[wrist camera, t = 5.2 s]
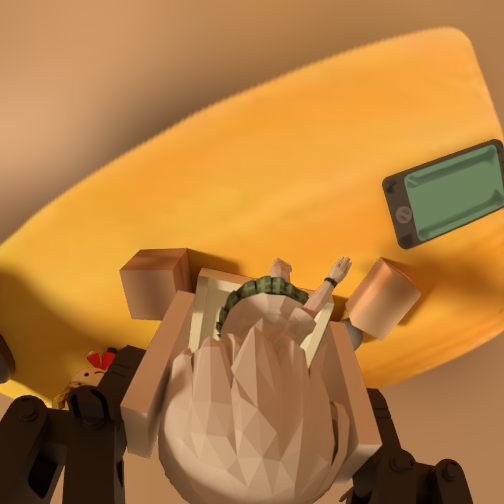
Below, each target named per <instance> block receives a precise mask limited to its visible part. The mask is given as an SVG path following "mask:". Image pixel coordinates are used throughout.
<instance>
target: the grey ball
mask: <svg viewBox="0 0 504 504" xmlns="http://www.w3.org/2000/svg"><path fill="white" fill-rule="evenodd" d="M339 322H340V323H345V325H346V328H347V331H348V334H349V337H350V340H351V343H352V346H353V349H354V351H355V350H356V349H357V348H358V347H359V346H360V345H361V342H362V339H363V333H362V330H360V329H359V328H357V327H355V326H353V325H352V323H351V320H341V321H339Z"/></svg>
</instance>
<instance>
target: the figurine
mask: <svg viewBox="0 0 504 504" xmlns="http://www.w3.org/2000/svg"><path fill="white" fill-rule="evenodd" d="M343 258H344V257H341V258H340V259H339V260H338V261H337V262H336V263H335V265H334V266H333V267H332V269H331V270H330V272H329V274H328V277H327V278H325V280H324V283H323V284H322V285H321V286H320V287H319V288H318V289H317V290H316V291H315V292H314V293H313V294H312V295H311V296H310V297H308V296H309V294H308V293H306V292H305V291H302V290H300V289H298V288H296V287H295V286H294V285H292V284H291V283H290V274H289V273H290V272H291V271H292V269H291V265H289V264H287V263H286V262H284V261H282V260H281V259H279V258H277V259H274V262H273V265H272V267H271V269H270V271H269V276H264V277H261V278H259V279H257V280H255V281H254V279H253V280H250V281H247V282H245V283H244V284H243V285H242V286H241V287H240V288H239V289H238V290H237V291H235V290H233V291H232V292H231V293H230V294H229V295H228V298H227V301H226V304H225V307H221V310H220V313H219V322H217V321H216V327H215V329H216V330H217V331H218V332H219V334H217V336H218V337H219V339H220V340H218V341H217V340H216V339H214V338H212V337H208V338H206V339H204V341H203V344H202V346H201V348H200V349H197V350H195V351H194V352H193V353H192V352H191V349H190V348H187V349H184V350H183V351H182V352H181V353H180V354H179V355H178V356H177V357H176V358H175V360H174V361H173V363H172V365H171V370H170V373H169V377H168V380H167V384H166V388H165V392H164V398H163V404H162V411H161V418H160V425H159V432H158V444H159V459H160V462H161V464H162V466H163V468H164V470H165V475H166V476H167V478H168V479H169V481H170V483H171V484H172V485H173V486H174V487H175V489H176V490H177V491H178V492H179V494H180V495H181V497H182V498H183V499H185V500H186V501H187V502H188V503H190V504H313V503H314V502H315V501H317V500H318V499H319V498H321V497H322V496H323V495H324V494H325V493H326V492H327V491H328V490H329V489H330V488H331V486H332V484H333V483H334V481H335V479H336V478H337V476H338V474H339V473H340V471H341V469H342V464H343V461H344V459H345V457H346V455H347V447H348V436H349V423H350V419H349V417H348V415H347V412H346V410H345V408H344V405H342V404H339V403H336V402H333V401H332V402H329V396H328V393H327V391H326V388H325V385H324V383H323V380H322V378H321V377H322V370H323V363H324V356H325V350H326V348H327V346H328V343H329V342H328V343H326V344H325V345H324V346H323V347H322V348H321V350H320V351H319V352H318V354H317V355H316V356H315V357H314V359H313V360H312V361H311V365H310V367H309V369H308V366H307V360H306V354H305V350H304V349H302V348H300V346H301V344H302V343H303V341H304V340H305V338H306V337H307V336H308V335H310V334H311V333H313V331H314V329H315V327H316V324H317V323H316V322H315V320H314V319H315V317H316V316H317V314H318V313H319V312H320V310H321V309H322V308H323V307H324V306H325V304H326V303H327V302H328V300H329V298H330V296H331V293H332V291H333V289H334V288H335V287H336V285H337V284H338V283H339V282H341V281H342V280H343V279H344V277H345V276H346V274H347V272H348V270H349V268H350V266H351V264H352V263H351V262H350V263H349V261H350V259H349V258H348V257H346V258H345V259H344V260H343ZM347 259H348V260H347ZM342 260H343V261H342ZM341 261H342V262H341ZM348 263H349V264H348ZM190 353H191V354H190ZM191 355H192V356H191ZM190 357H191V359H190ZM330 404H331V405H333V406H334V407H336V408H337V409H338V423H337V420H336V419H333V418H332V416H331V409H330Z"/></svg>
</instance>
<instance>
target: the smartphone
mask: <svg viewBox="0 0 504 504" xmlns="http://www.w3.org/2000/svg"><path fill="white" fill-rule="evenodd" d="M382 187H383V190H384V194H385V197H386V200H387V204H388V207H389V211H390V214H391V218H392V221H393V225H394V229H395V233H396V237H397V241H398V244H399V245H400V247H401V248H403V249H409V248H411V247H414V246H416V245H418V244H421V243H423V242H426V241H428V240H430V239H433V238H435V237H438V236H440V235H442V234H445V233H447V232H449V231H452V230H454V229H456V228H459V227H461V226H464V225H466V224H468V223H471V222H473V221H475V220H476V219H479V218H482V217H484V216H486V215H488V214H490V213H493V212H495V211H497V210H499V209H500V208H503V207H504V148H503V144H502V142H501V141H500V140H497V139H492V140H490V141H487V142H484V143H481V144H478V145H475V146H472V147H469V148H466V149H464V150H461V151H458V152H455V153H452V154H449V155H447V156H444V157H441V158H438V159H435V160H433V161H430V162H427V163H424V164H422V165H419V166H416V167H413V168H411V169H408V170H405V171H402V172H400V173H397V174H394V175H391V176H389V177H386V178H385V179H384V180H383V182H382Z"/></svg>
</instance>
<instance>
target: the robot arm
mask: <svg viewBox="0 0 504 504" xmlns="http://www.w3.org/2000/svg"><path fill="white" fill-rule="evenodd" d="M194 300H195V294H193V293H188V292H184V291H180V290H178V291H177V293H176V295H175V297H174V299H173V301H172V303H171V305H170V306H169V308H168V310H167V312H166V314H165V316H164V318H163V320H162V322H161V324H160V326H159V328H158V330H157V331H156V333H155V335H154V337H153V339H152V341H151V343H150V345H149V347H148V349H147V350H143V349H140V348H136V347H133V346H129V345H127V346H126V347H124V348H123V349H121V350H120V351H118V352H117V354H116V355H115V357H114V359H113V360H112V363H111V364H110V365H109V367H108V369H107V372H105V374H104V375H103V377H102V379H101V381H100V382H99V384H98V386H97V387H96V386H93V385H82V386H79V387H76V388H74V389H73V390H72V391H71V392H70V393H69V394H68V396H67V398H66V401H67V405H68V408H69V410H59V409H52V408H47V407H46V405H45V404H44V402H43V401H42V400H41V399H39V398H38V397H36V396H32V395H24V396H21V397H18V398H16V399H15V400H14V401H13V402H12V403H11V405H10V406H9V408H8V410H7V412H6V413H5V415H4V416H3V418H2V420H1V421H0V504H50V501H51V498H52V496H53V493H54V490H55V488H56V485H57V482H58V480H59V477H60V474H61V472H62V470H63V467H64V466H65V472H64V484H63V500H62V504H125V489H124V461H123V454H124V452H125V449H126V447H127V449H128V452H129V453H132V454H135V455H138V456H141V457H144V458H148V459H150V457H151V454H152V451H153V448H154V445H155V442H156V439H157V436H158V432H159V425H160V418H161V411H162V404H163V398H164V392H165V388H166V384H167V380H168V377H169V373H170V370H171V365H172V363H173V361H174V360H175V358H176V357H177V356H178V355H179V354H180V353H181V352H182V351H183V350H184V349H187V347H188V344H189V338H190V330H191V322H192V314H193V307H194ZM328 342H329V343H328ZM326 343H328V346H327V348H326V350H325V356H324V363H323V370H322V377H321V378H322V380H323V383H324V385H325V388H326V391H327V393H328V396H329V402H332V401H333V402H336V403H339V404H342V405H344V408H345V410H346V412H347V415H348V417H349V419H350V423H349V436H348V447H347V455H346V457H345V459H344V461H343V464H342V469H341V471H340V473H339V474H338V476H337V478H336V479H335V481H334V483H333V484H346V483H347V482H348V481H349V480H350V479H351V478H352V479H353V485H354V486H353V487H352V488H350V489H349V490H348V491H347V492H346V493H345V494H344V495H343V496H342V497H341V499H340V500H339V502H342V501H344V500H345V499H346V498H347V500H346V504H473V501H472V498H471V494H470V491H469V488H468V484H467V481H466V478H465V475H464V472H463V470H462V468H461V466H460V465H459V464H458V463H457V462H456V461H454V460H451V459H443V460H441V461H440V462H439V463H438V464H436V466H432V465H427V464H422V463H418V462H416V461H415V459H414V458H413V456H412V455H411V454H410V453H409V452H407V451H405V450H403V449H402V448H401V446H400V443H399V439H398V436H397V433H396V430H395V427H394V424H393V421H392V419H391V415H390V412H389V411H388V406H387V403H386V400H385V398H384V397H383V395H382V394H381V393H380V392H379V390H378V389H371V388H366V386H365V383H364V380H363V377H362V374H361V371H360V367H359V364H358V361H357V358H356V355H355V352H354V349H353V346H352V343H351V340H350V337H349V334H348V331H347V328H346V325H345V323H340V322H334V321H329V322H328V325H327V328H326V330H325V332H324V335H323V337H322V340H321V342H320V345H319V347H318V349H317V352H316V354H315V356H316V355H317V354H318V352H319V351H320V350H321V348H322V347H323V346H324V345H325V344H326ZM14 372H15V365H14V361H13V358H12V355H11V353H10V351H9V349H8V347H7V345H6V344H5V342H4V340H3V339H2V337H1V336H0V384H1V383H5V382H7V381H8V380H9V379H10V378H11V377H12V375H13V374H14ZM330 409H331V416H332V418H333V419H336V420H337V423H338V409H337V408H336V407H334V406H333V405H331V404H330Z"/></svg>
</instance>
